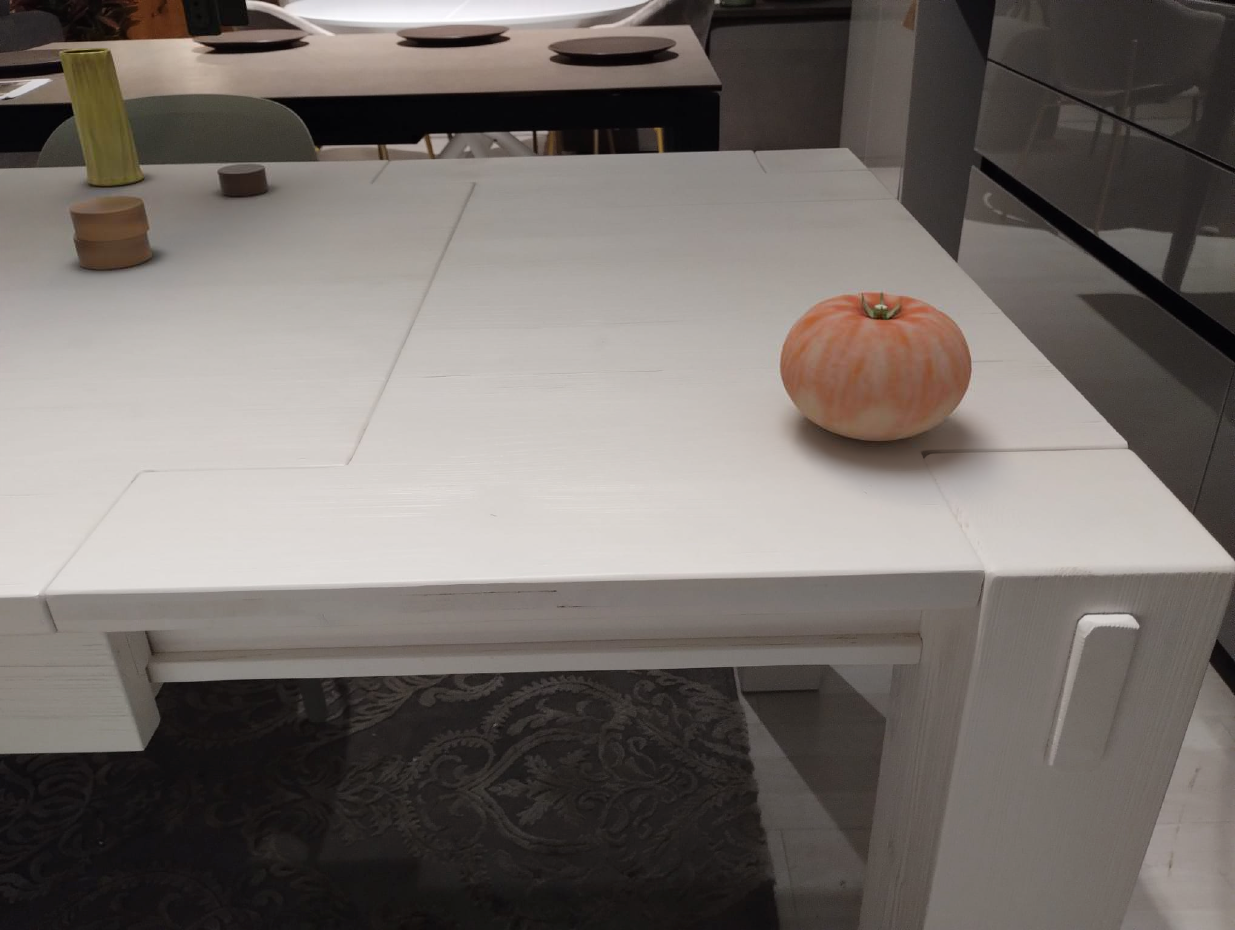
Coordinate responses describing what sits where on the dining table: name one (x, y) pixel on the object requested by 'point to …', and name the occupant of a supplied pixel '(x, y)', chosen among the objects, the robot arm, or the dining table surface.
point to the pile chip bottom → (113, 252)
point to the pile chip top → (109, 218)
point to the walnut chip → (243, 180)
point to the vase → (101, 117)
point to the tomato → (875, 366)
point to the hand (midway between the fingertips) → (220, 30)
